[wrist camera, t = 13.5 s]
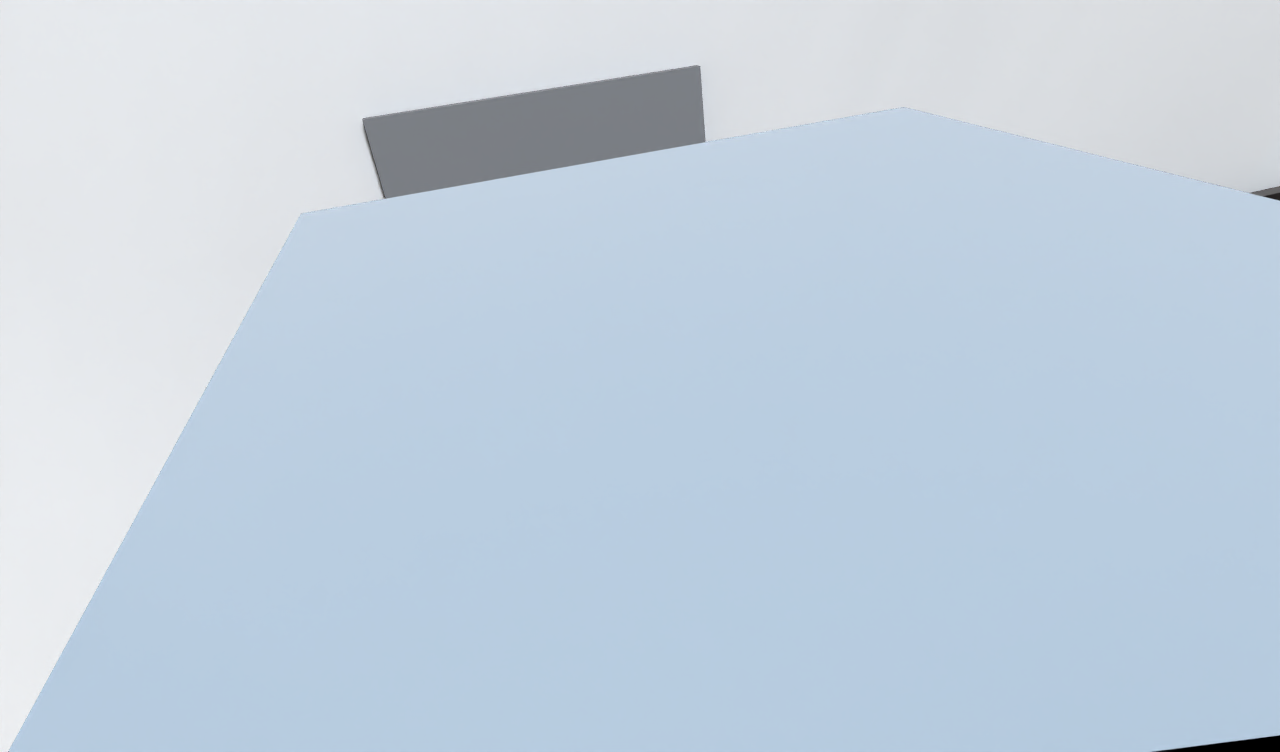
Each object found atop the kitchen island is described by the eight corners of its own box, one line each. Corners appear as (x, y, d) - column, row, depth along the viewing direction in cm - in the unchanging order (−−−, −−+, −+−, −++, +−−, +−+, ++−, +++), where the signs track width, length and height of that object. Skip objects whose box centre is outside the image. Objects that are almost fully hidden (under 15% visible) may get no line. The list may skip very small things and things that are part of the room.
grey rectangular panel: (696, 65, 15) (700, 66, 15) (727, 500, 21) (730, 504, 21) (362, 118, 14) (362, 119, 14) (493, 564, 20) (494, 569, 20)
